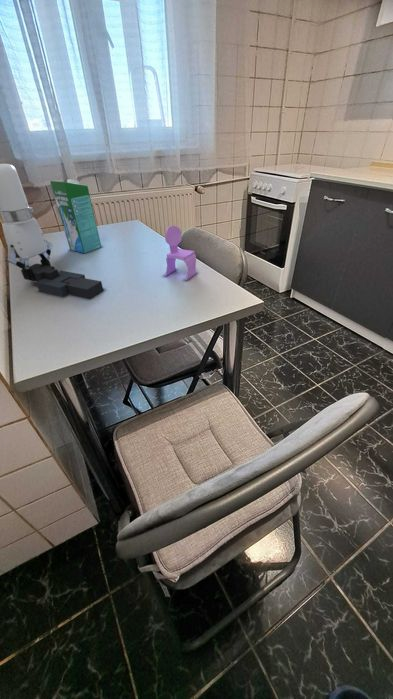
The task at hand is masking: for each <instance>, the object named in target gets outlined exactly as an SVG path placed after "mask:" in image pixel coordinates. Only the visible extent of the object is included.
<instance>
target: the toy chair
mask: <svg viewBox="0 0 393 699" xmlns="http://www.w3.org/2000/svg"><path fill="white" fill-rule="evenodd" d="M164 240H165V243H166V244H168V246H169V251H170V252H168V253H167V254H166V258H165V261H166V270H165V274H164V277H167V276H168V275H170V274H171V273H173V272H175V271H176V270H177V267H176V260H180V261H183V262H184V263H185V265H186V267H187V274H186V277H185V281H188V280H189V279H191V278H192V277H193V276H195V275H196V274H197V268H196V267H197V255H196V252H195V250H189V249H183V248H179V247H178V246H179V244H180V243H181V241H182V230H181V228H180V227H179V226H176V225H170V226H168V227H167V228H166V230H165V234H164Z"/></svg>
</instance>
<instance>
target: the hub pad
mask: <svg viewBox="0 0 393 699" xmlns="http://www.w3.org/2000/svg"><path fill="white" fill-rule="evenodd" d="M58 273H59V277H57V278H55V279H53V280H49V279H42V280H40V281H38V282H36V281H35V284H36V286H37V289H38V291H39V292H40V293H44V294H48V295H53V296H57V297H62V298H65V297H66V296H68V295H70V294H69V291H68V288H67V285H68V283H63V281H65V280H67V279H69V278H73V279H79V278H86V276H85V274H82V273H77V272H71V271H68V270H67V271H66V270H62V269H61V270H59V271H58Z"/></svg>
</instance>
